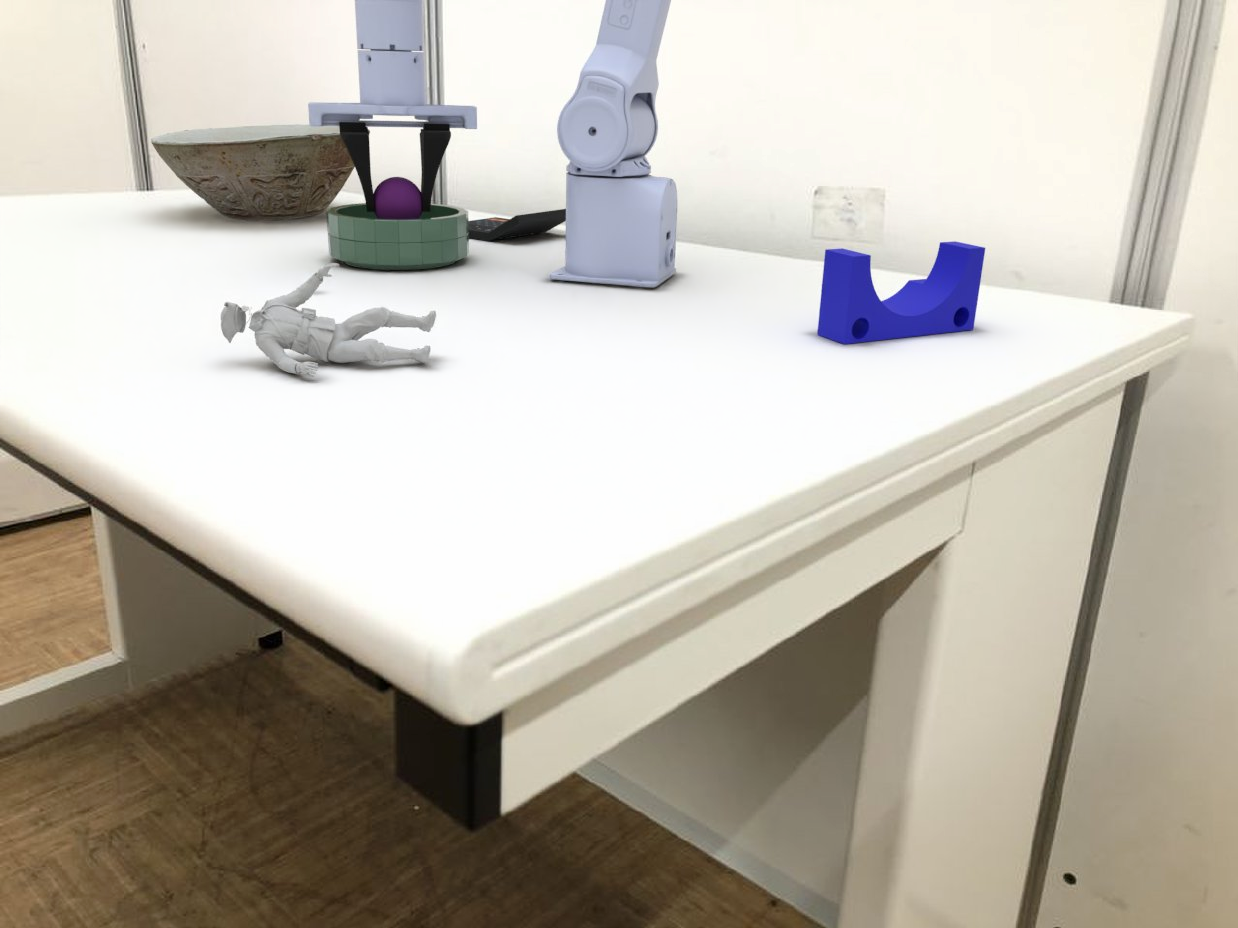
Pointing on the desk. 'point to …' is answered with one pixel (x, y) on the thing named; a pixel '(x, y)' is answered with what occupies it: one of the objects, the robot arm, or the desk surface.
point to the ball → (397, 199)
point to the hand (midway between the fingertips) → (397, 210)
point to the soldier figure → (320, 330)
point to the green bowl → (398, 238)
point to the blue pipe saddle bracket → (899, 297)
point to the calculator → (515, 225)
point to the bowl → (260, 168)
